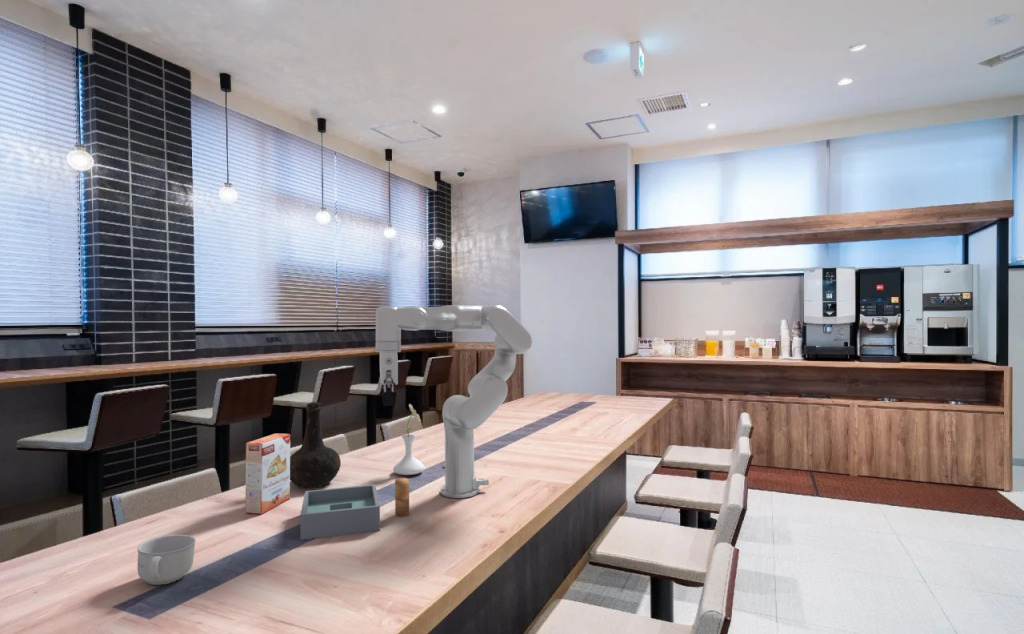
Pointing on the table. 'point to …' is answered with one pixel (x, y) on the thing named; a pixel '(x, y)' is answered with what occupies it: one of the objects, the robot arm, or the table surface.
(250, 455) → the cracker box
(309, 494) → the bore box
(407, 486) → the peg
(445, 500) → the table surface
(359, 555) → the table surface
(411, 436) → the flower in vase
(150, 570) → the teacup
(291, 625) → the table surface
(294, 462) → the dark brown vase
